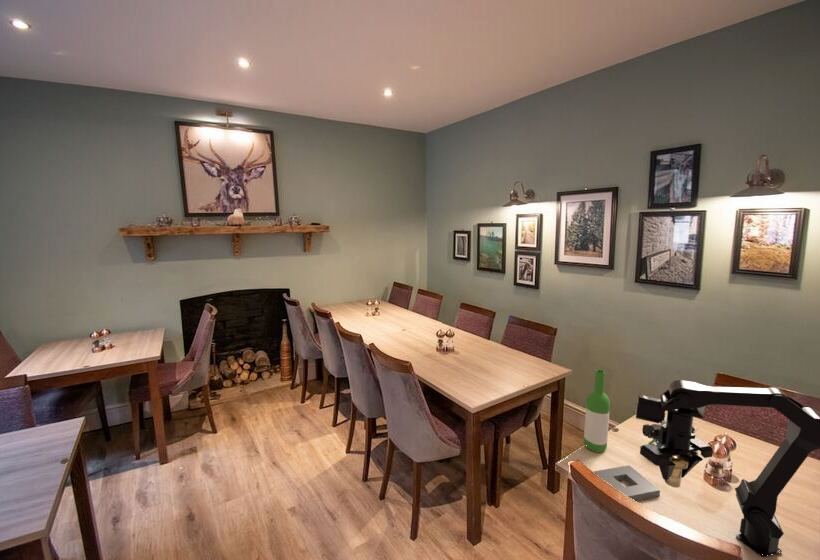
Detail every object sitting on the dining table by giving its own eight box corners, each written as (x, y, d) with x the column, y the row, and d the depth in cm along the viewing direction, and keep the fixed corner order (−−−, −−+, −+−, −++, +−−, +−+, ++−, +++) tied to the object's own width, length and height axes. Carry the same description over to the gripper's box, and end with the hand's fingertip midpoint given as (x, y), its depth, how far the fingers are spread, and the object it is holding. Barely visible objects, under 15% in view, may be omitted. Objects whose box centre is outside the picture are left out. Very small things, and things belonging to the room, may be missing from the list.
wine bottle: (591, 438, 143) (596, 365, 138) (610, 448, 136) (617, 372, 132) (579, 445, 139) (584, 370, 134) (599, 456, 132) (604, 377, 127)
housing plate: (659, 495, 113) (660, 490, 112) (620, 503, 110) (620, 497, 110) (628, 470, 124) (629, 465, 124) (592, 476, 121) (593, 471, 121)
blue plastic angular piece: (681, 459, 127) (658, 435, 129) (666, 468, 129) (644, 445, 131) (669, 445, 138) (649, 423, 140) (656, 454, 139) (636, 432, 141)
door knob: (691, 488, 101) (694, 462, 100) (673, 492, 100) (676, 465, 99) (671, 474, 107) (674, 449, 106) (654, 477, 106) (657, 452, 105)
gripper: (679, 408, 111) (674, 456, 113) (626, 416, 107) (622, 464, 109) (717, 428, 100) (710, 480, 102) (660, 437, 96) (654, 491, 98)
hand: (673, 478), depth 103 cm, fingers closed on door knob, 5 cm apart
